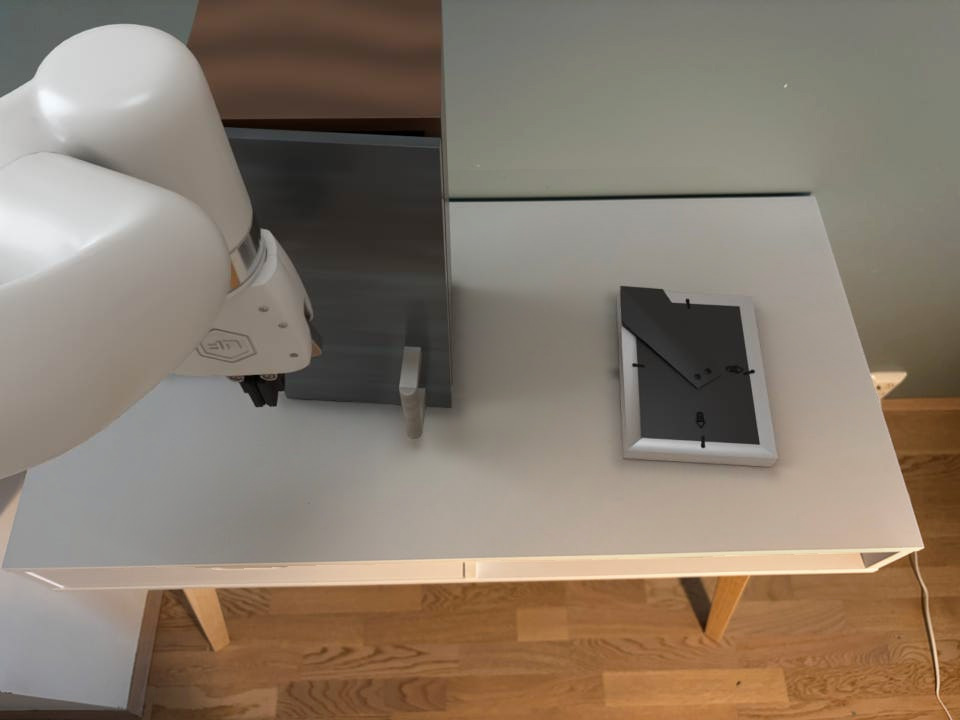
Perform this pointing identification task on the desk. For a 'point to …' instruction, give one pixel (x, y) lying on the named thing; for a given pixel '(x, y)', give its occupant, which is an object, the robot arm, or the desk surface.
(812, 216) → the desk surface
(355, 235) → the cupboard door
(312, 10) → the cupboard
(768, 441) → the picture frame
